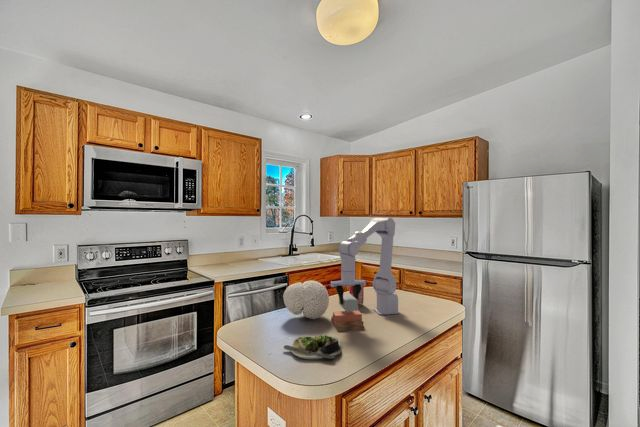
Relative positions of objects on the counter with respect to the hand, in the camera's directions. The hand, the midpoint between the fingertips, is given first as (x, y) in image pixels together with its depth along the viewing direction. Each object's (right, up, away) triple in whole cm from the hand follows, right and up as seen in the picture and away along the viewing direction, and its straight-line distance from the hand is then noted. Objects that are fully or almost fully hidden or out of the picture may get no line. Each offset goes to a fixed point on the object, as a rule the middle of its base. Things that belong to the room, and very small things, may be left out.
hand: (348, 303), depth 125 cm
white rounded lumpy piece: (-17, -9, +7) cm, 21 cm away
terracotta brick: (0, -8, 0) cm, 8 cm away
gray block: (0, -1, 0) cm, 1 cm away
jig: (-1, -9, 0) cm, 9 cm away
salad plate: (-12, -10, -22) cm, 27 cm away
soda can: (+7, -9, +27) cm, 29 cm away
